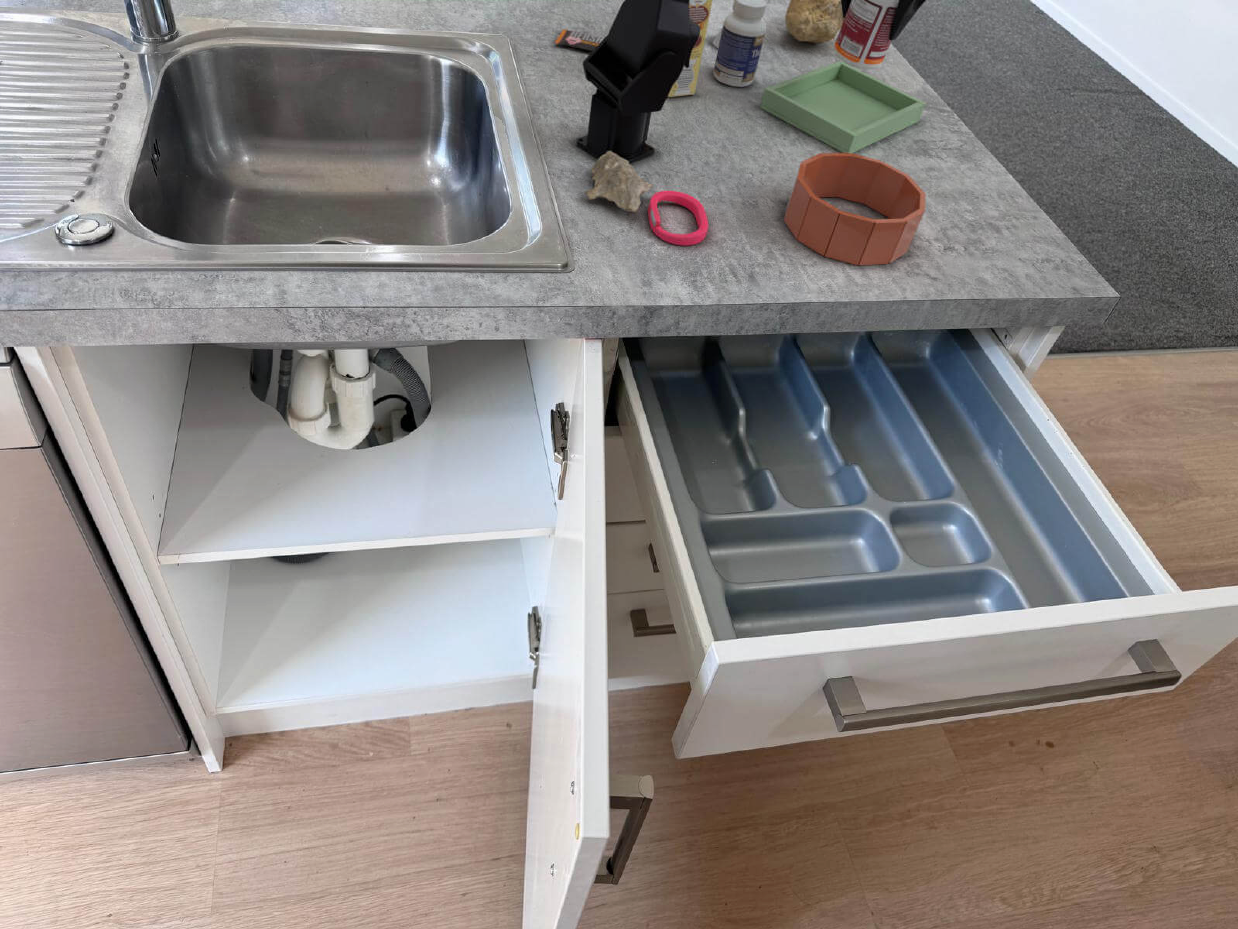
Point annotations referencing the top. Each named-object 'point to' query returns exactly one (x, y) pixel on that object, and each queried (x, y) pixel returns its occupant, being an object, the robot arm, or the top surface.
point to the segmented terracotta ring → (851, 232)
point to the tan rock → (814, 19)
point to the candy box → (689, 76)
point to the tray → (842, 106)
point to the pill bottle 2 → (866, 33)
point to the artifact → (617, 182)
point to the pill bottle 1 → (741, 43)
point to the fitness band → (688, 203)
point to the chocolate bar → (579, 40)
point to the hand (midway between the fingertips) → (869, 28)
